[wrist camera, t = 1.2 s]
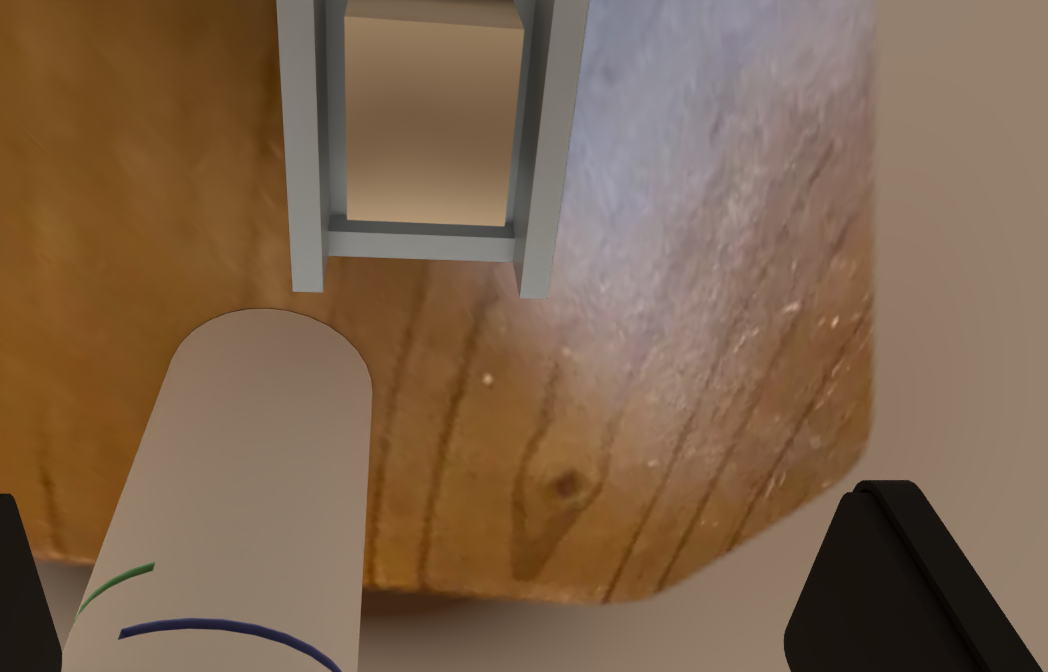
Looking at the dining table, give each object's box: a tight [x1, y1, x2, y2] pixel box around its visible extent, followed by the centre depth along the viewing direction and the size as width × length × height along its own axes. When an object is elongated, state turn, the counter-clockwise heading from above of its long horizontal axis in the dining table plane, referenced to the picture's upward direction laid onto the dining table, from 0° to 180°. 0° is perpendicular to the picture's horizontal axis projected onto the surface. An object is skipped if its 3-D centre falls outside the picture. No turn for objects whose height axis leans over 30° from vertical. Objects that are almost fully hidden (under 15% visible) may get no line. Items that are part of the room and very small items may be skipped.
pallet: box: [276, 0, 589, 299], centre depth 23 cm, size 10×7×5 cm
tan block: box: [344, 0, 524, 226], centre depth 22 cm, size 5×4×4 cm
